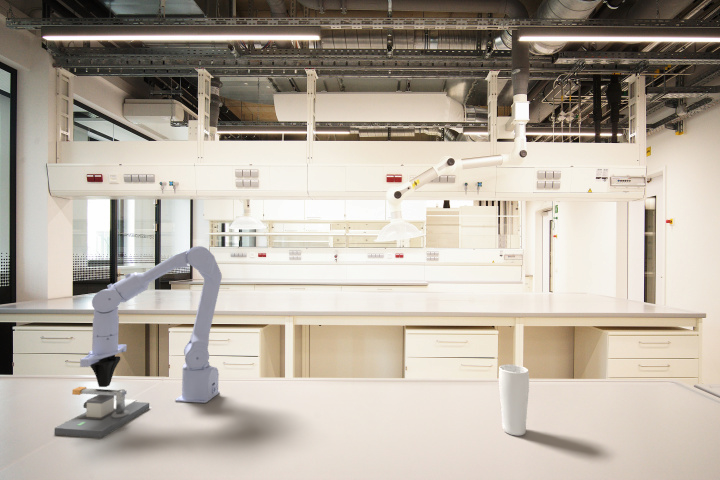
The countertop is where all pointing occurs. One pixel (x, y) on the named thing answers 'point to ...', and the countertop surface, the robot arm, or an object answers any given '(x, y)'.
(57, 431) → the grey flat board
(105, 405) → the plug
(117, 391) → the orange-tipped grey rod
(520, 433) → the drinking glass
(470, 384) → the countertop surface
